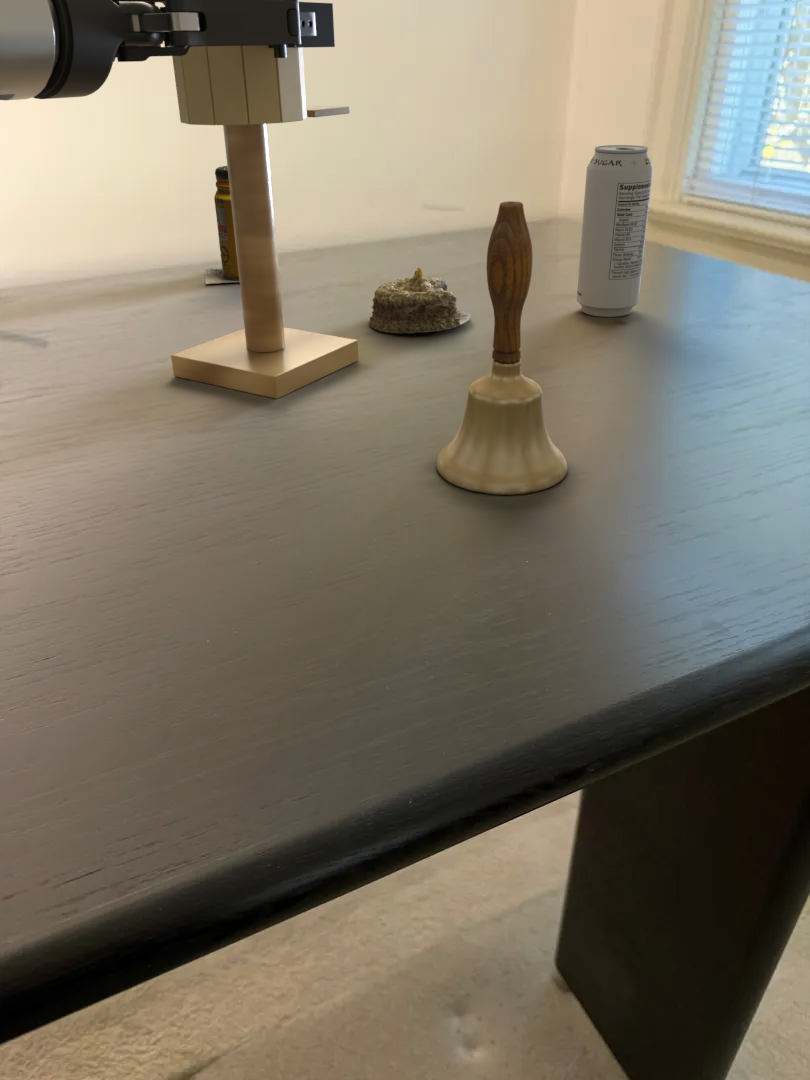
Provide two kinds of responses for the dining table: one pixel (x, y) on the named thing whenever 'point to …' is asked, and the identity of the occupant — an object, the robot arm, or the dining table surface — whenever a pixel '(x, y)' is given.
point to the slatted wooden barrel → (243, 86)
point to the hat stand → (260, 294)
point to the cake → (415, 306)
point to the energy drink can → (614, 229)
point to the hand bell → (505, 386)
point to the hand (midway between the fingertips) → (276, 27)
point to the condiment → (224, 233)
